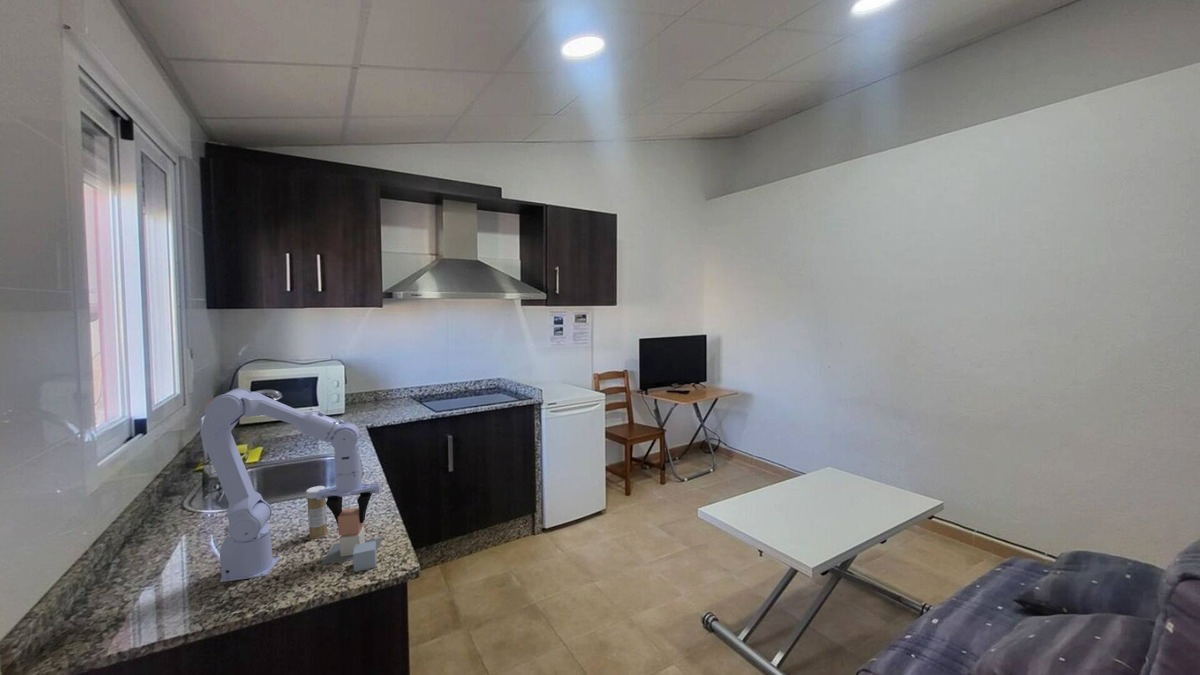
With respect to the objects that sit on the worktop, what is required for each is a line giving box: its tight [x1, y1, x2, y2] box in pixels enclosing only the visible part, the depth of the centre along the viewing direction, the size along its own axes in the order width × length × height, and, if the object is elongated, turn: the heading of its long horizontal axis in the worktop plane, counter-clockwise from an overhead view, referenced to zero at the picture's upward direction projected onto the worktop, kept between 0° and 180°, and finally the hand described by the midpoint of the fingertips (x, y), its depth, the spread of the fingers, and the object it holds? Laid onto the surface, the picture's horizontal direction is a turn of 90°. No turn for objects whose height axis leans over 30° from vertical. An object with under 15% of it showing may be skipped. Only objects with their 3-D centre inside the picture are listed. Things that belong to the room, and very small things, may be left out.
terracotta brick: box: [337, 506, 365, 536], centre depth 119 cm, size 5×5×5 cm
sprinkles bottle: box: [305, 485, 329, 539], centre depth 128 cm, size 5×5×13 cm
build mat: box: [320, 537, 383, 566], centre depth 120 cm, size 12×10×1 cm
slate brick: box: [352, 541, 378, 572], centre depth 113 cm, size 5×5×5 cm
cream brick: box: [338, 526, 366, 556], centre depth 119 cm, size 5×5×5 cm
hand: (351, 522), depth 119 cm, fingers closed on terracotta brick, 5 cm apart
